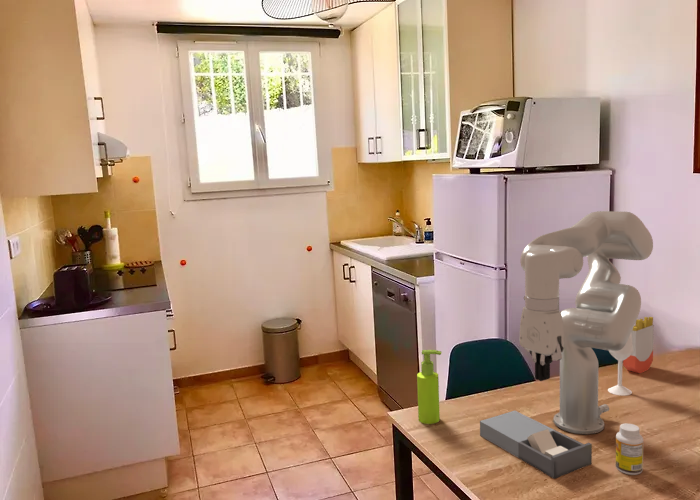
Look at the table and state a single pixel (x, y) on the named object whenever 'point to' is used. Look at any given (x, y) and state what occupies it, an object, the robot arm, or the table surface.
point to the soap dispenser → (428, 390)
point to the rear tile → (542, 441)
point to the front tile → (555, 451)
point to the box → (558, 456)
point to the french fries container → (641, 346)
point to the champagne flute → (621, 356)
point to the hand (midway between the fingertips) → (542, 378)
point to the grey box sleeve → (510, 430)
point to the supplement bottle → (629, 449)
